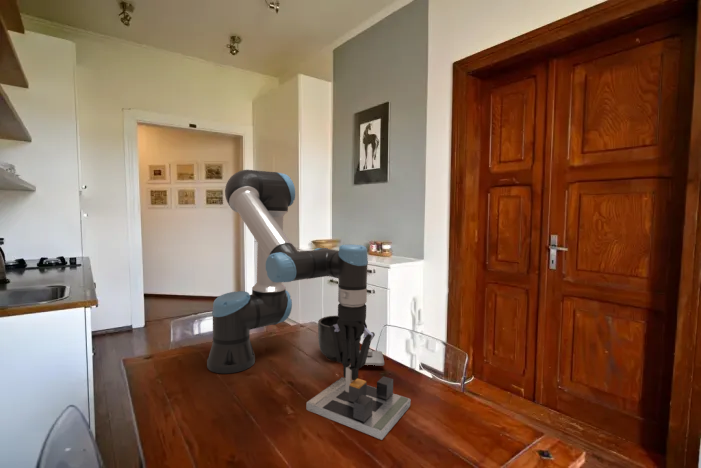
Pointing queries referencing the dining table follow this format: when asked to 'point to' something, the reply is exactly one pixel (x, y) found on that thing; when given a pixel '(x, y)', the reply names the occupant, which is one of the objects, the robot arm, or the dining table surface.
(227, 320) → the robot arm
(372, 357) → the light switch
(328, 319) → the planter
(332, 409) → the panel
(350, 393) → the block
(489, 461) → the dining table surface
